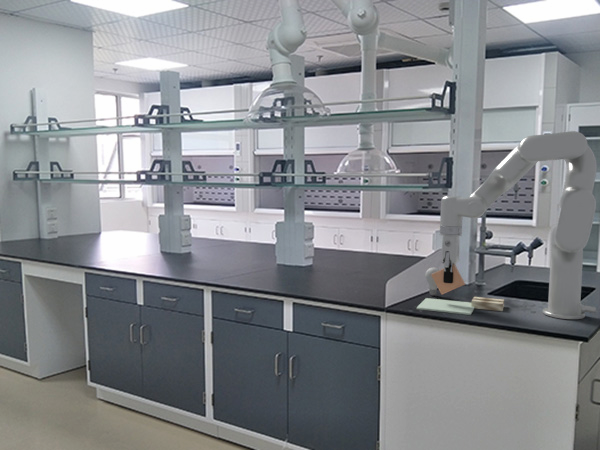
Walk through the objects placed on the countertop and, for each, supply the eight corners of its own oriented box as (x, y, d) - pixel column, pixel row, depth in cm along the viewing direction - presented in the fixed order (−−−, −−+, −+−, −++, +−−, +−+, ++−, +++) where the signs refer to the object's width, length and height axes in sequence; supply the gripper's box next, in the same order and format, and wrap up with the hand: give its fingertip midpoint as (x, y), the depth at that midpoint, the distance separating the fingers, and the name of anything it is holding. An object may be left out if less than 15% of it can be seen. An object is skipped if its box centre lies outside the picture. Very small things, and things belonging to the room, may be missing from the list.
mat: (476, 304, 192) (476, 303, 192) (470, 315, 178) (470, 313, 178) (426, 299, 200) (426, 298, 200) (416, 309, 185) (416, 307, 185)
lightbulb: (422, 296, 206) (423, 267, 205) (428, 293, 211) (428, 265, 210) (437, 298, 202) (438, 269, 201) (443, 295, 207) (444, 267, 206)
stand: (503, 306, 190) (504, 299, 190) (502, 311, 183) (502, 304, 183) (473, 303, 194) (474, 296, 194) (471, 307, 187) (471, 300, 187)
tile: (442, 293, 193) (465, 283, 189) (441, 294, 191) (464, 284, 188) (431, 273, 194) (454, 263, 190) (430, 274, 192) (453, 264, 189)
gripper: (458, 233, 180) (456, 287, 182) (464, 229, 194) (462, 279, 196) (435, 232, 183) (433, 285, 185) (443, 228, 198) (441, 277, 199)
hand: (448, 282), depth 191 cm, fingers closed on tile, 1 cm apart
